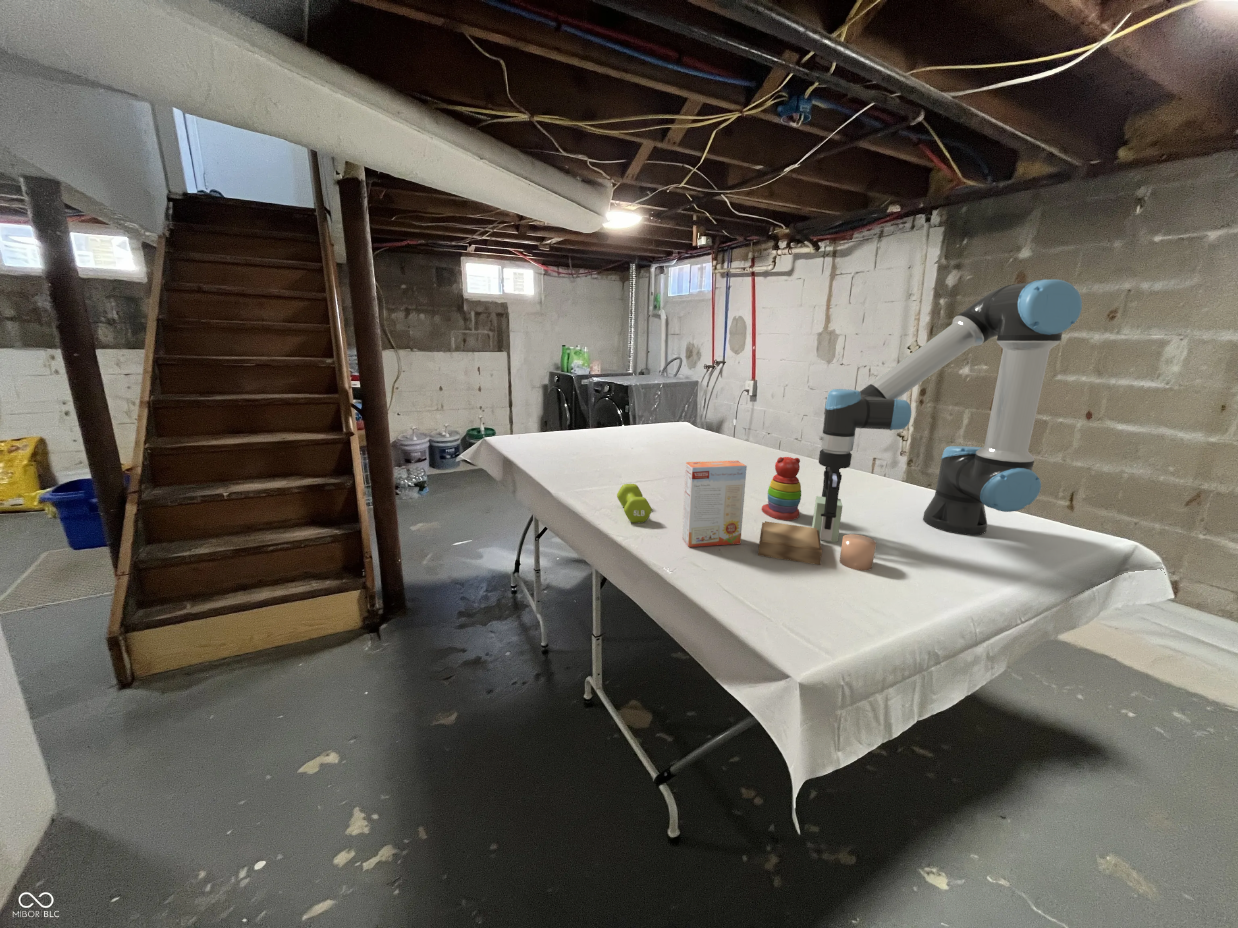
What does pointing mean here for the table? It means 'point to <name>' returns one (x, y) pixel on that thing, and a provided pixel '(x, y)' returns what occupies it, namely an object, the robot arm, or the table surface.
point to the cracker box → (713, 503)
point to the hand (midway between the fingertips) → (824, 533)
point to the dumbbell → (634, 503)
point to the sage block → (818, 518)
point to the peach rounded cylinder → (857, 552)
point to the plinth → (790, 542)
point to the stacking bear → (784, 490)
